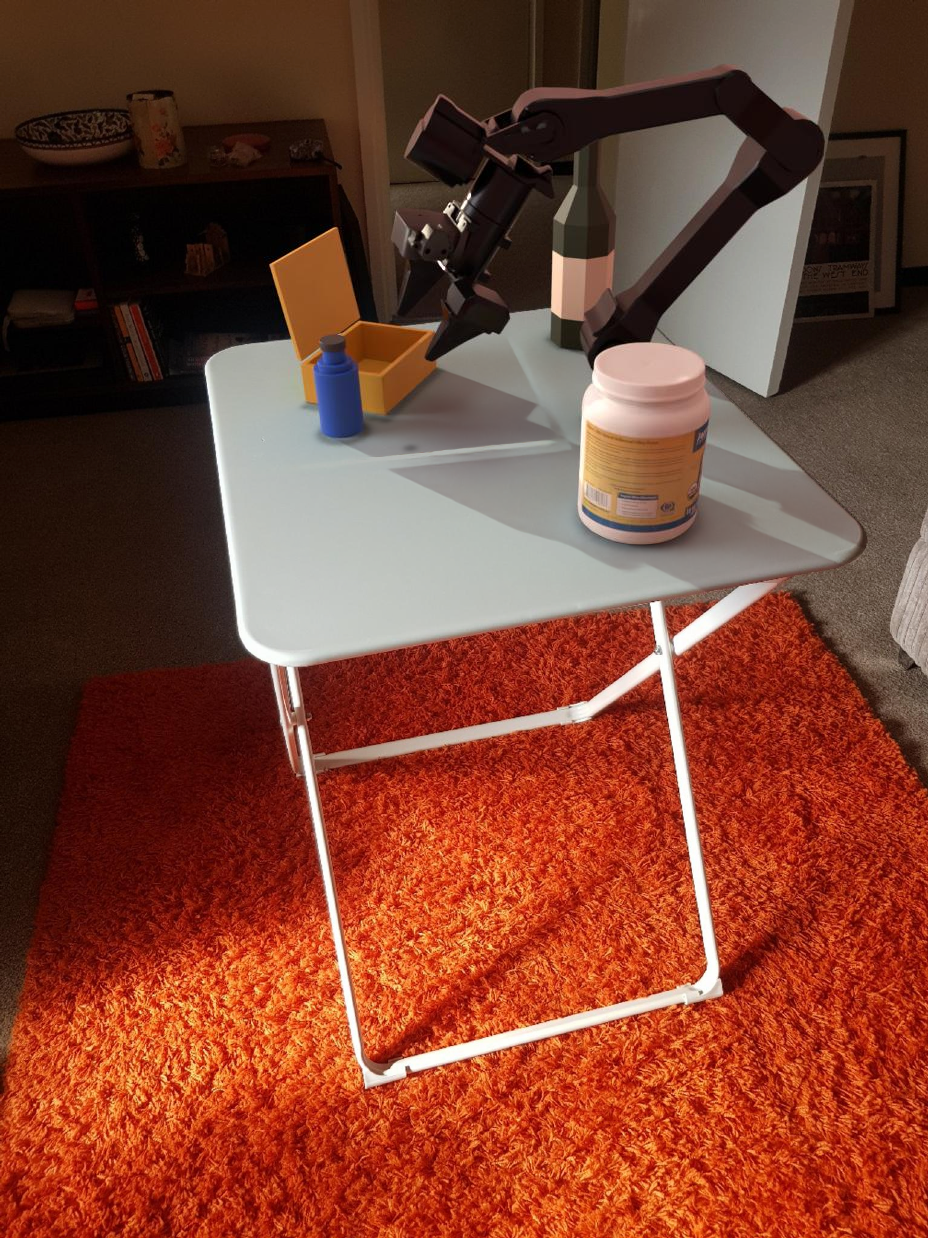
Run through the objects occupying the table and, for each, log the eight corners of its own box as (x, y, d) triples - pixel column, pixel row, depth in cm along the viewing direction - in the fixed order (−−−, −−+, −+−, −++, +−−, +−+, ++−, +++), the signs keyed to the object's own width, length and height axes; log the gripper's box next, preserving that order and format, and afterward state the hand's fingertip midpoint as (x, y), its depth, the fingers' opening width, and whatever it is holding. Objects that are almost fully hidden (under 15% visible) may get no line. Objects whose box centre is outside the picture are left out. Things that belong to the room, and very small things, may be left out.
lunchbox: (437, 371, 132) (434, 330, 129) (385, 419, 121) (381, 376, 118) (362, 360, 136) (358, 320, 132) (306, 406, 125) (300, 363, 121)
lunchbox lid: (337, 226, 126) (313, 229, 127) (273, 263, 114) (247, 266, 116) (360, 317, 132) (336, 319, 134) (301, 361, 121) (276, 362, 123)
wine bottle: (611, 349, 136) (627, 111, 118) (552, 350, 136) (558, 113, 118) (605, 327, 143) (619, 98, 124) (548, 328, 143) (554, 100, 125)
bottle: (353, 419, 121) (343, 327, 114) (372, 435, 118) (362, 341, 111) (315, 430, 119) (302, 337, 112) (332, 446, 116) (320, 351, 109)
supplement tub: (712, 543, 97) (736, 383, 87) (592, 555, 96) (602, 396, 86) (674, 482, 107) (691, 332, 96) (565, 493, 105) (570, 343, 95)
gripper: (395, 140, 102) (327, 269, 110) (463, 226, 91) (382, 363, 99) (476, 183, 109) (406, 302, 117) (547, 267, 98) (465, 392, 106)
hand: (413, 336), depth 109 cm, fingers open, 9 cm apart
